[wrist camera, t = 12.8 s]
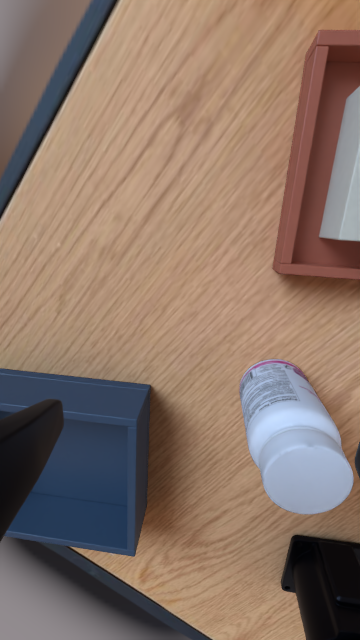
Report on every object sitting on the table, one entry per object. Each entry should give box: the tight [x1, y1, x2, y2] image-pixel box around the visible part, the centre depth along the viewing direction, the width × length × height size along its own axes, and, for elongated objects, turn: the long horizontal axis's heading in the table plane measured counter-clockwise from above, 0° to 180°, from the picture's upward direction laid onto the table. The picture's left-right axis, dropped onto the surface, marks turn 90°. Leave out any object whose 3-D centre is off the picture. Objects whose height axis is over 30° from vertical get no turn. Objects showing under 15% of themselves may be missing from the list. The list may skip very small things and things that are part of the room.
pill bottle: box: [240, 359, 353, 514], centre depth 17 cm, size 5×5×8 cm
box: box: [0, 369, 151, 556], centre depth 23 cm, size 12×14×4 cm
